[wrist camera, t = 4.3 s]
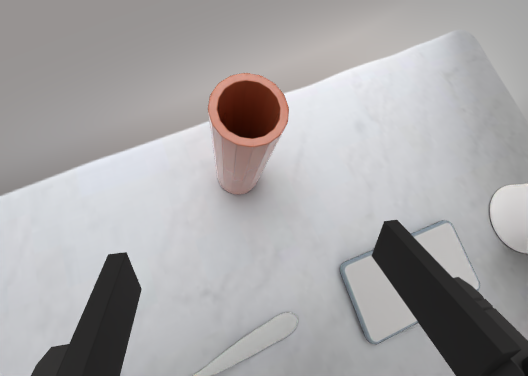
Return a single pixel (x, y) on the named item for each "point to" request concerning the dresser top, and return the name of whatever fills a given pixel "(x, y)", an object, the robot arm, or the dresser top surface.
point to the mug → (511, 216)
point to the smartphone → (383, 293)
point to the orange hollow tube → (245, 128)
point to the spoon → (253, 343)
